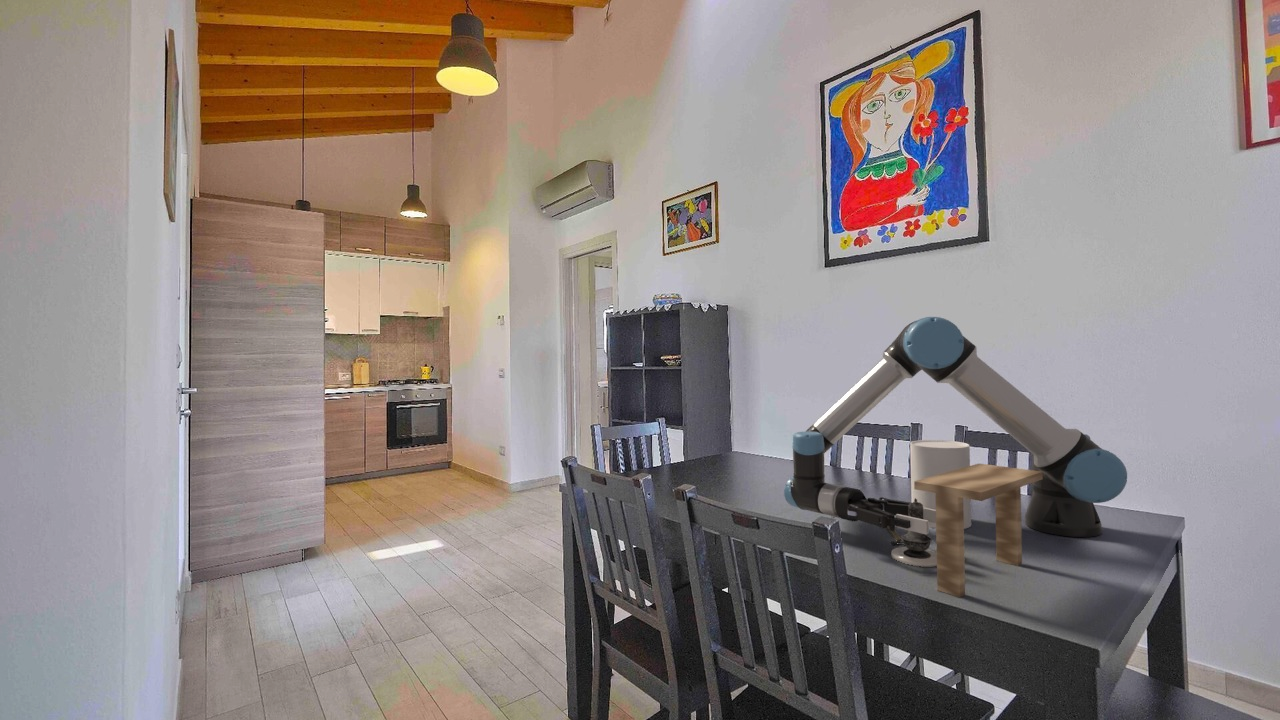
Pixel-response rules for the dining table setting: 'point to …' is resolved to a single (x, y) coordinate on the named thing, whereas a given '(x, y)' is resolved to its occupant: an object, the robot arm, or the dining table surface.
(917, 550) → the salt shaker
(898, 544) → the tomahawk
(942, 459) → the canister
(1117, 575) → the dining table surface
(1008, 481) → the wooden stool
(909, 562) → the coaster
